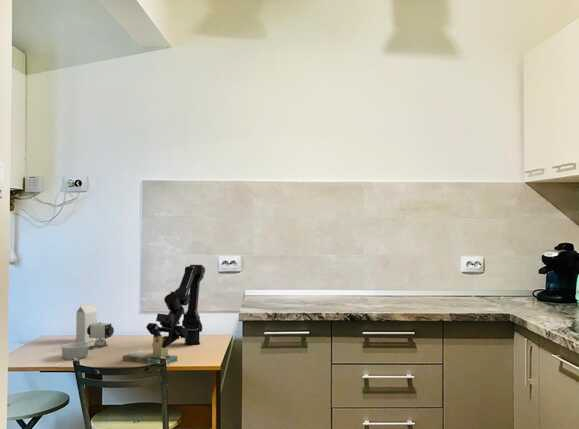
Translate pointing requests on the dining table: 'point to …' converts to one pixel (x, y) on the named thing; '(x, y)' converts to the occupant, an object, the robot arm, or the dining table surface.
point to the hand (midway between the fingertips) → (158, 347)
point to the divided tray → (146, 357)
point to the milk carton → (85, 322)
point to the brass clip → (159, 347)
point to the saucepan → (77, 350)
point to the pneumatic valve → (100, 332)
